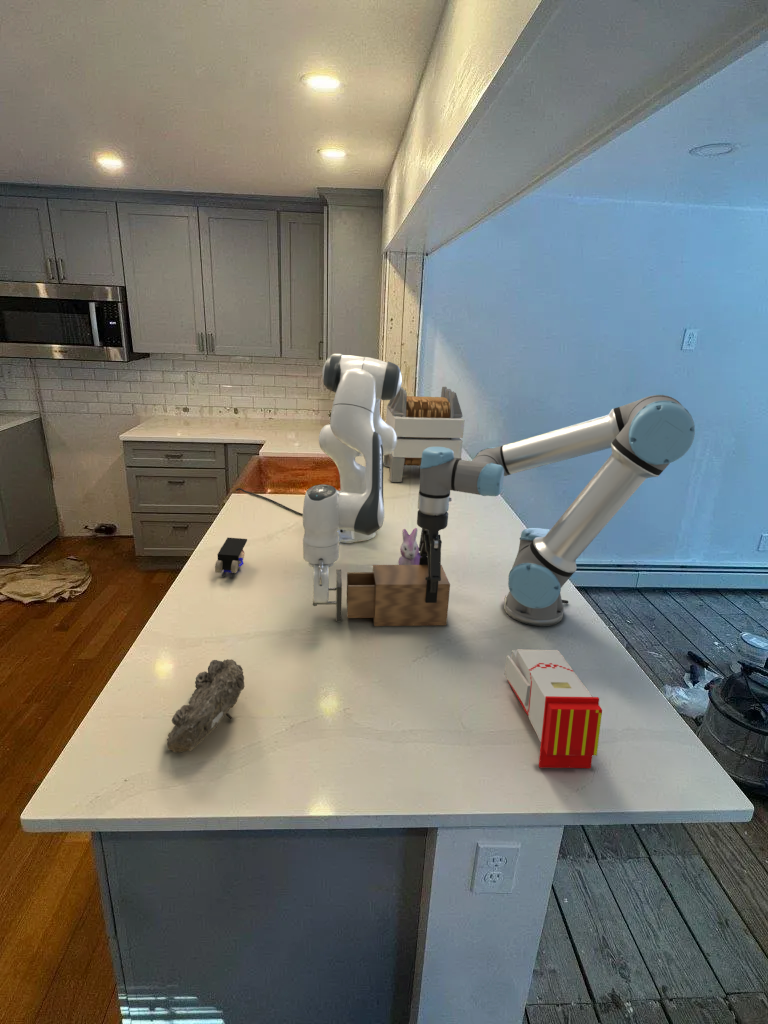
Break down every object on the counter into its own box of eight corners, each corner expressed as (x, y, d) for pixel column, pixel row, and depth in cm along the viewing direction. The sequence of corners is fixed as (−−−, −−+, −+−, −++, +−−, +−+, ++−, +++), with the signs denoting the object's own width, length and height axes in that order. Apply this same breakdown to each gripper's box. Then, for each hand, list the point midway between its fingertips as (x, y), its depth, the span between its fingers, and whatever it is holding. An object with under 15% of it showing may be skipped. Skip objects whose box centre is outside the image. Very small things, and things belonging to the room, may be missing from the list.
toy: (554, 631, 124) (612, 705, 95) (548, 687, 127) (603, 776, 98) (499, 630, 124) (540, 704, 94) (495, 686, 126) (533, 775, 97)
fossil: (192, 660, 117) (244, 628, 112) (224, 691, 120) (276, 661, 115) (142, 746, 98) (202, 712, 93) (182, 779, 101) (242, 748, 96)
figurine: (405, 586, 162) (408, 538, 157) (388, 572, 170) (390, 525, 165) (433, 580, 166) (436, 533, 161) (415, 566, 174) (418, 521, 169)
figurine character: (238, 584, 162) (249, 557, 175) (236, 562, 158) (247, 536, 172) (215, 584, 161) (227, 556, 175) (212, 561, 158) (225, 535, 171)
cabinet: (374, 626, 141) (376, 584, 137) (371, 604, 152) (372, 564, 148) (446, 625, 143) (450, 584, 139) (438, 603, 154) (441, 564, 150)
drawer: (312, 621, 140) (312, 587, 137) (313, 602, 149) (313, 569, 146) (404, 621, 142) (406, 587, 139) (399, 601, 152) (401, 569, 148)
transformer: (382, 463, 289) (386, 382, 275) (445, 464, 293) (451, 384, 279) (390, 482, 257) (394, 392, 243) (460, 483, 261) (468, 394, 247)
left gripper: (334, 569, 130) (334, 622, 135) (333, 535, 149) (333, 582, 154) (306, 569, 129) (307, 622, 134) (309, 535, 148) (309, 582, 153)
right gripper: (458, 528, 128) (450, 613, 135) (439, 495, 150) (433, 570, 157) (425, 528, 127) (419, 614, 134) (411, 495, 149) (406, 570, 156)
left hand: (321, 600), depth 144 cm, fingers closed, pressing on drawer
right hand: (427, 590), depth 146 cm, fingers closed on cabinet, 11 cm apart
